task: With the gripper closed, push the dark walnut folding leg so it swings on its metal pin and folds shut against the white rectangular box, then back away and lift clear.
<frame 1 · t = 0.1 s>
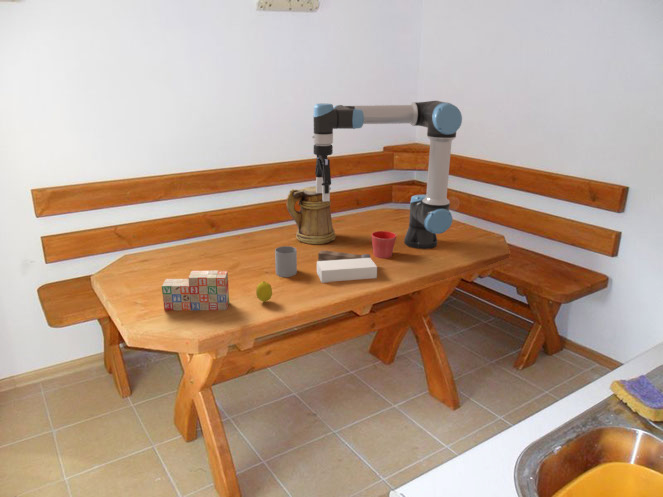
hand: (322, 196, 217), 28 cm above the table, tool pointing down, fingers open, 13 cm apart
white rectangular box: (346, 275, 212), on the table
flower pot: (382, 256, 233), on the table
folding leg: (344, 258, 222), point 3 cm above the table, hinge at -30.0°
stack of blocks: (197, 307, 185), on the table
tankard: (311, 239, 253), on the table
lemon: (264, 302, 188), on the table
cup: (286, 273, 214), on the table
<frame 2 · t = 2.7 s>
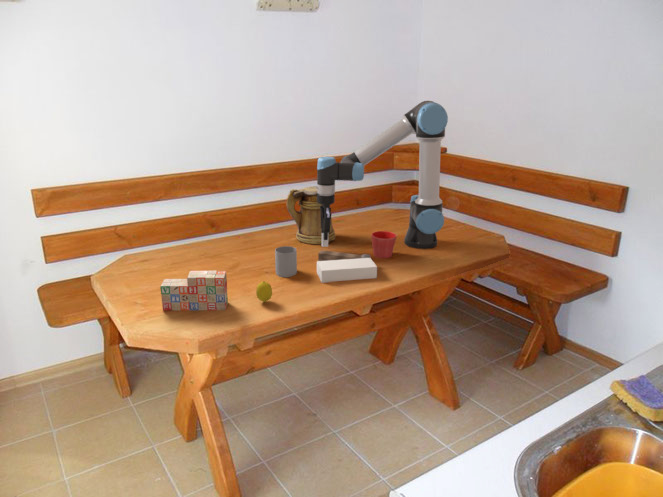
hand: (324, 246, 235), 3 cm above the table, tool pointing down, fingers closed
nothing on the table moved.
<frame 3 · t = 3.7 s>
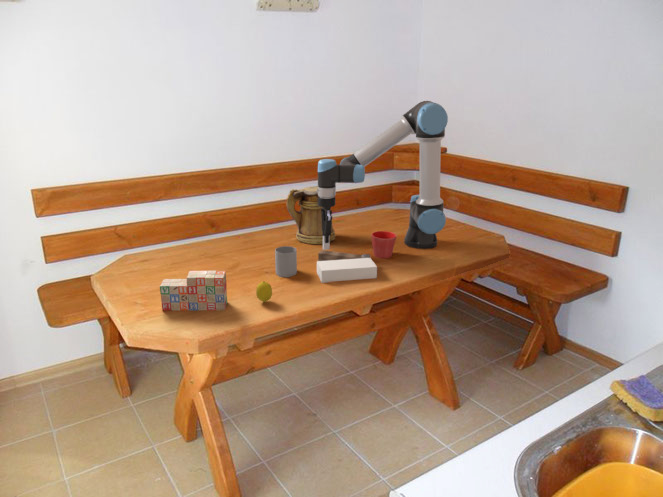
hand: (326, 248, 233), 2 cm above the table, tool pointing down, fingers closed
nothing on the table moved.
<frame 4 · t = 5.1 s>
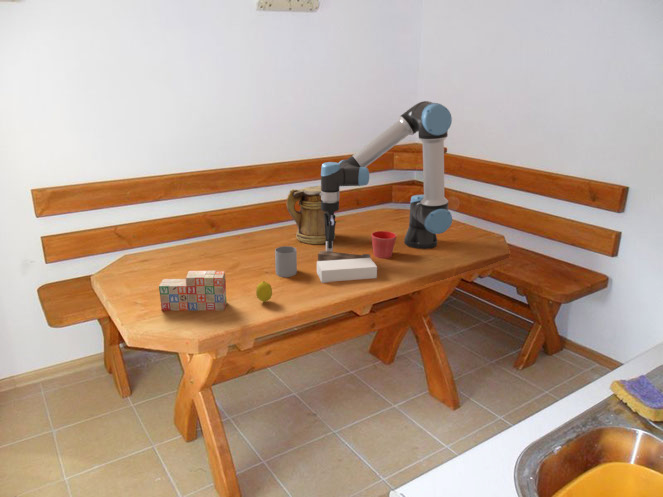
hand: (329, 254, 227), 2 cm above the table, tool pointing down, fingers closed
folding leg: (344, 258, 222), point 3 cm above the table, hinge at -27.8°, touching gripper
everything else where it was.
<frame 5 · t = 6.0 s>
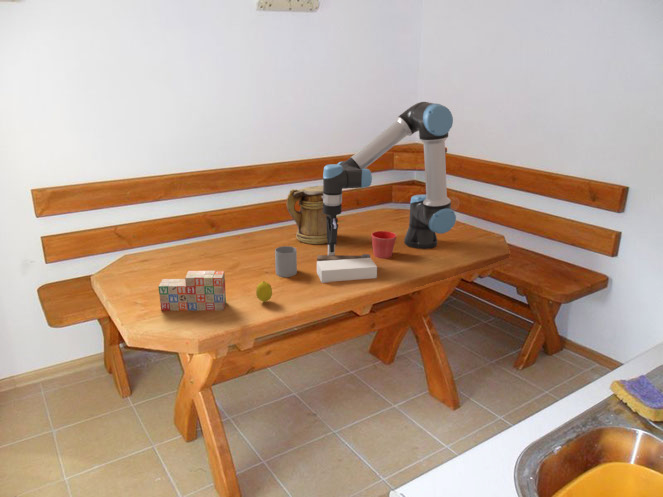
hand: (331, 258, 222), 3 cm above the table, tool pointing down, fingers closed
folding leg: (343, 260, 220), point 3 cm above the table, hinge at -12.1°, touching gripper
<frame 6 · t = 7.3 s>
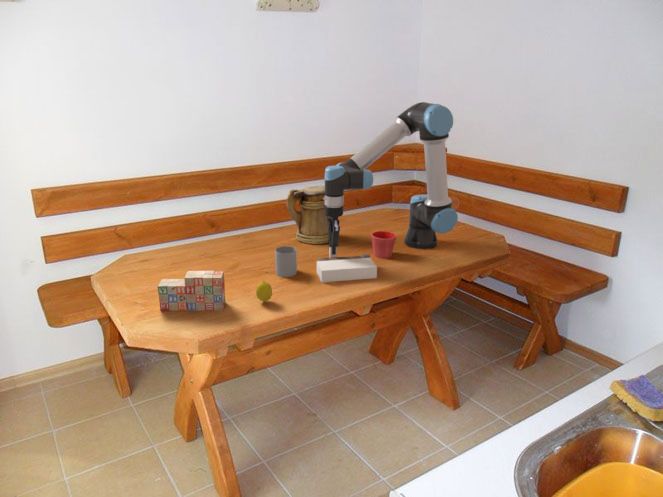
hand: (332, 260, 220), 3 cm above the table, tool pointing down, fingers closed
folding leg: (344, 262, 218), point 3 cm above the table, hinge at -2.2°, touching gripper
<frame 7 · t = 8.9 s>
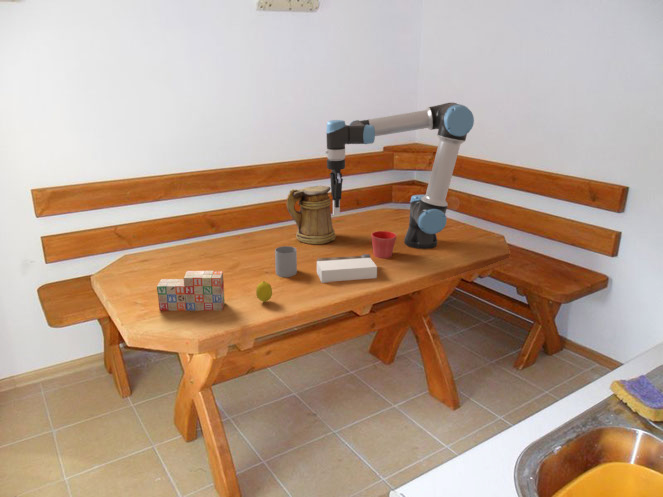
hand: (336, 214, 228), 18 cm above the table, tool pointing down, fingers closed
folding leg: (344, 262, 218), point 3 cm above the table, hinge at -2.2°
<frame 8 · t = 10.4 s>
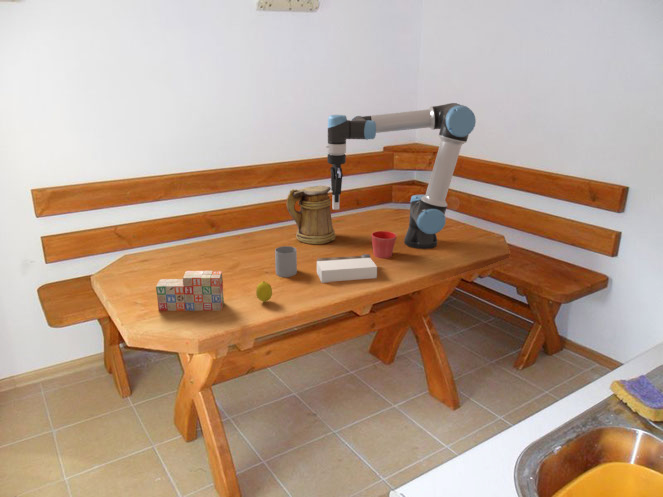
hand: (335, 208, 228), 20 cm above the table, tool pointing down, fingers closed
at the end: folding leg at -2° (first picture: -30°) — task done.
